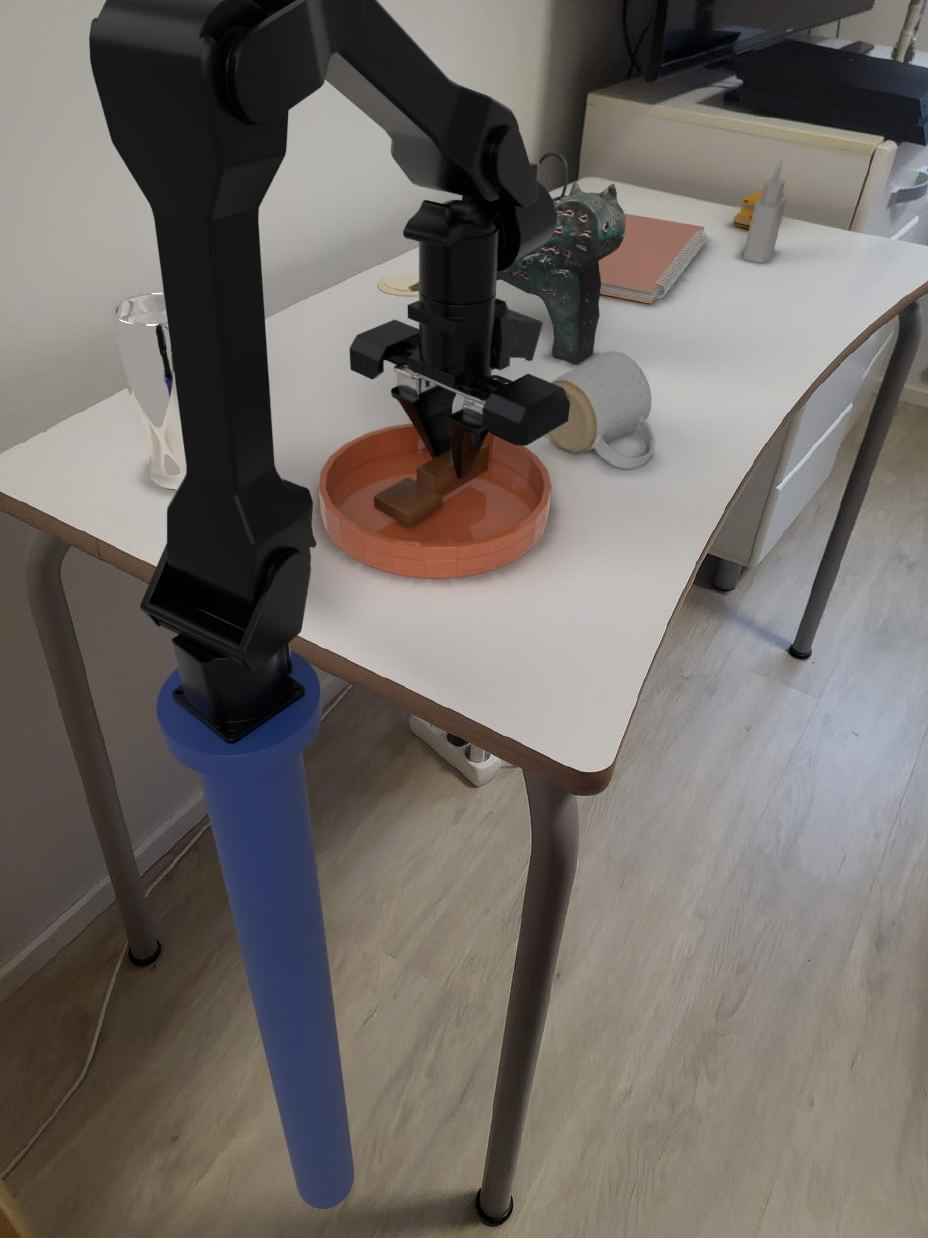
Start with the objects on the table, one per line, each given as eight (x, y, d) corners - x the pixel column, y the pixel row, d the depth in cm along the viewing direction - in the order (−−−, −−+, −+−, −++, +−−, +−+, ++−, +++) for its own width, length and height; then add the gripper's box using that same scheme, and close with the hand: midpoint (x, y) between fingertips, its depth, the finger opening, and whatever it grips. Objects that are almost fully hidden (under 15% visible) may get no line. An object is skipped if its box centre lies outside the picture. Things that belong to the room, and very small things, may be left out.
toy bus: (730, 226, 139) (736, 199, 136) (760, 211, 144) (766, 185, 142) (750, 232, 137) (756, 204, 135) (780, 216, 143) (786, 190, 140)
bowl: (442, 611, 70) (443, 580, 68) (274, 511, 79) (270, 480, 77) (592, 507, 81) (596, 477, 79) (429, 429, 90) (429, 401, 88)
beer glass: (202, 443, 87) (174, 283, 77) (240, 475, 83) (216, 310, 73) (131, 467, 83) (93, 302, 74) (167, 502, 79) (132, 333, 70)
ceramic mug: (530, 437, 89) (537, 363, 84) (587, 411, 94) (597, 338, 89) (615, 485, 84) (629, 408, 79) (671, 454, 88) (687, 380, 83)
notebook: (659, 307, 115) (661, 290, 113) (531, 281, 120) (532, 266, 118) (709, 240, 134) (712, 225, 132) (597, 221, 139) (599, 206, 137)
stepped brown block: (497, 474, 81) (498, 449, 80) (409, 527, 75) (408, 501, 73) (462, 457, 83) (463, 432, 81) (373, 508, 77) (372, 482, 75)
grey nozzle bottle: (774, 251, 131) (797, 159, 123) (763, 263, 127) (785, 168, 120) (752, 247, 132) (773, 155, 124) (741, 258, 128) (762, 164, 121)
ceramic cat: (611, 357, 104) (638, 162, 91) (578, 376, 100) (602, 176, 87) (472, 307, 113) (478, 124, 100) (437, 323, 109) (439, 135, 96)
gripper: (623, 295, 69) (597, 475, 80) (438, 233, 78) (436, 402, 89) (531, 340, 63) (515, 531, 73) (340, 267, 72) (350, 445, 82)
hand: (452, 471), depth 79 cm, fingers closed on stepped brown block, 2 cm apart
